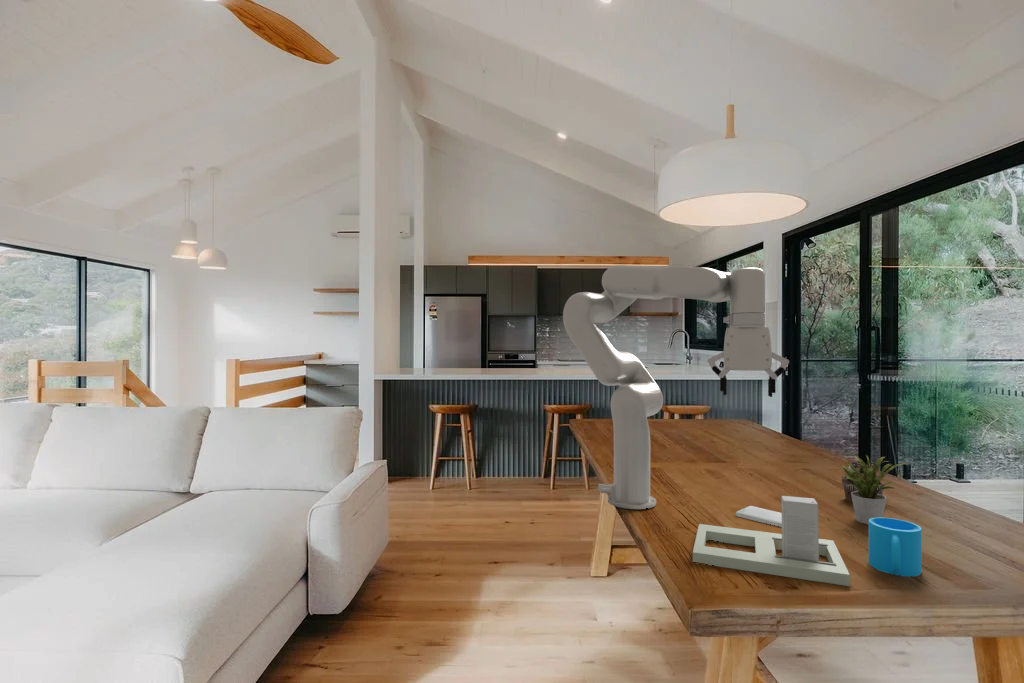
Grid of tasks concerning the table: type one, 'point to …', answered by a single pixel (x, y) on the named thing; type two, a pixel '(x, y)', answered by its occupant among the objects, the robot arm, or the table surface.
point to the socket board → (768, 555)
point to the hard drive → (761, 515)
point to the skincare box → (800, 528)
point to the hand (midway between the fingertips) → (747, 395)
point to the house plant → (868, 489)
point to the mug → (895, 546)
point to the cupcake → (850, 489)
